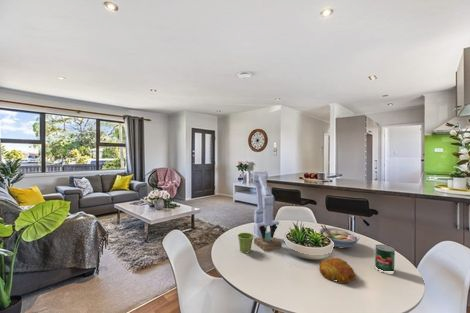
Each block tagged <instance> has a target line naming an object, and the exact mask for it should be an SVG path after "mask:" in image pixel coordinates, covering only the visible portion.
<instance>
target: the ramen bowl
mask: <svg viewBox="0 0 470 313" xmlns="http://www.w3.org/2000/svg"><path fill="white" fill-rule="evenodd" d="M320 226H321V227H322V228H321V229H319V232H318V233H319V234H320V233H323V234H324V235H325V236H326V237H328V238H329V239H331V240H332V241H333V242H334V246H333V247H335V246H336V247H335V248H338V247H344V248H350V247H353V246H354V245H355V244H357V243H358V241H359V240H360V238H361V237H360V235H359V234H358V233H356V232H354V231H352V230H348V229H345V228H341V227H340V228H338V227H327V226H326V225H322V224H320Z"/></svg>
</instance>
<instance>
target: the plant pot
mask: <svg viewBox="0 0 470 313" xmlns="http://www.w3.org/2000/svg"><path fill="white" fill-rule="evenodd" d="M237 237H238V241H239V242H238V243H239V251H240V252H241V253H245V254H247V253H250V252H251V251H252V244H253V241H254V238H255V236H254V235H253V233H249V232H239V233H238V234H237Z"/></svg>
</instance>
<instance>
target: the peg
mask: <svg viewBox="0 0 470 313" xmlns="http://www.w3.org/2000/svg"><path fill="white" fill-rule="evenodd" d="M265 242H266V243H267V242H271V232H270V230H269V231H268V230H267V231H266V232H265Z"/></svg>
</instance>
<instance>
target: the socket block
mask: <svg viewBox="0 0 470 313" xmlns="http://www.w3.org/2000/svg"><path fill="white" fill-rule="evenodd" d="M253 244H254V245H255V246H257V247H259V248H260V249H261V250H262V251H263V252H265V251H266V252H267V251H271V250H277V249H282V242H281V241H280V240H278V239H276V238H275V237H273V238H272V237H271V242H267V243H266V242H265V239H263V238H262V237H259V238H257V237H254V238H253Z"/></svg>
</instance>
